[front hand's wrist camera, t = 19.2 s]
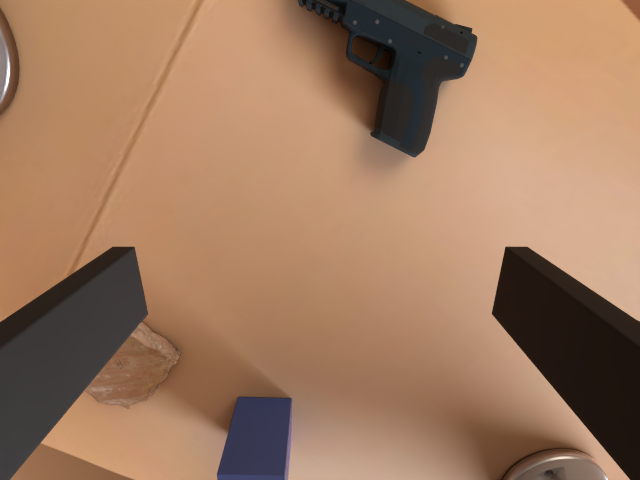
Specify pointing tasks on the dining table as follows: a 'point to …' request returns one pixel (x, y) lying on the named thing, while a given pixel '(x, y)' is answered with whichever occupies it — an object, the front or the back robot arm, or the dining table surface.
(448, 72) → the handgun
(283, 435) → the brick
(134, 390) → the stone
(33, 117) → the dining table surface
